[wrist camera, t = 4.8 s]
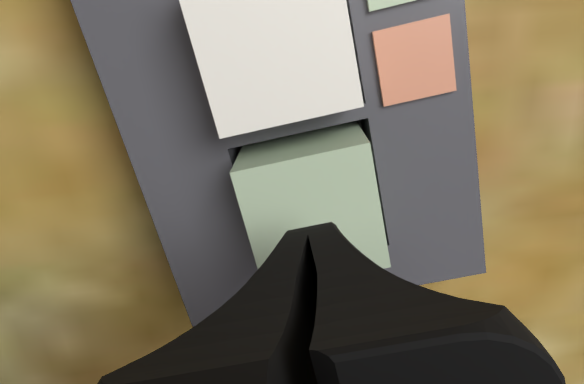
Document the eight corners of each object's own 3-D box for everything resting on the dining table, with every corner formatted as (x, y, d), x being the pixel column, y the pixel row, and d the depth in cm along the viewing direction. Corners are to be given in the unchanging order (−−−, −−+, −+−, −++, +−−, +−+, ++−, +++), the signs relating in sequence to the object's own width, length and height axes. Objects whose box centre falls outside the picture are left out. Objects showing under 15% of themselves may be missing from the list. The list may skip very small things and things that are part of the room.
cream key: (350, 90, 16) (364, 106, 13) (235, 116, 16) (219, 138, 13) (327, -41, 14) (335, -62, 11) (200, -8, 15) (173, -19, 11)
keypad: (459, 237, 20) (488, 275, 17) (206, 286, 21) (191, 329, 18) (398, -356, 13) (430, -474, 10) (26, -236, 14) (-50, -310, 11)
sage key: (373, 223, 18) (391, 267, 14) (270, 243, 18) (264, 291, 15) (355, 119, 16) (370, 142, 13) (242, 144, 17) (229, 172, 13)
